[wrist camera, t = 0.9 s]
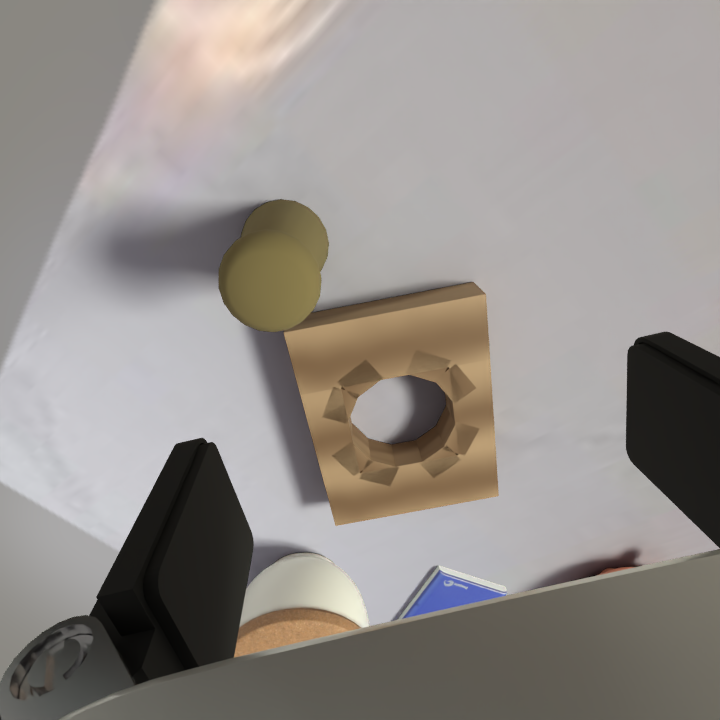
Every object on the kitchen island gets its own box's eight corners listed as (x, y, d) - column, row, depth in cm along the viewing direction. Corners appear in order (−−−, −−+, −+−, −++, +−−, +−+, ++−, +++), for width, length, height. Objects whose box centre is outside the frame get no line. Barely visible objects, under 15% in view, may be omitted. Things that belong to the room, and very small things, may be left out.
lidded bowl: (254, 628, 49) (235, 752, 39) (225, 540, 44) (195, 659, 34) (373, 611, 49) (384, 732, 39) (359, 522, 44) (368, 635, 34)
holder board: (286, 317, 35) (283, 332, 32) (473, 281, 34) (485, 294, 32) (335, 501, 42) (335, 525, 40) (487, 473, 42) (498, 495, 39)
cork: (341, 270, 33) (347, 325, 24) (263, 299, 34) (237, 364, 24) (309, 185, 31) (300, 207, 21) (225, 218, 31) (178, 254, 21)
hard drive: (440, 573, 46) (382, 649, 50) (508, 595, 48) (446, 666, 52) (437, 560, 47) (380, 635, 52) (503, 582, 49) (443, 652, 54)
